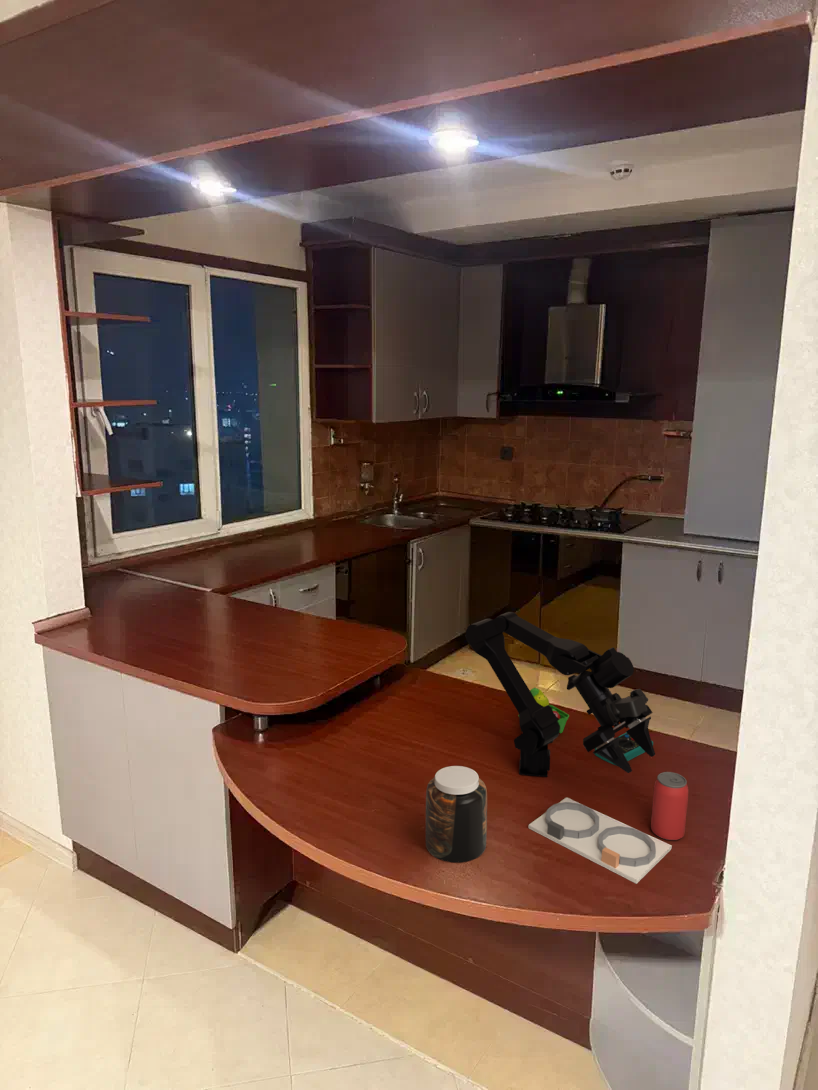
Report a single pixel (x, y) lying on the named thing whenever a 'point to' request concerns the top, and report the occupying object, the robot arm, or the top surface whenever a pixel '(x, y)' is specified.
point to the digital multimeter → (627, 748)
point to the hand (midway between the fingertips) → (642, 763)
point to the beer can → (669, 806)
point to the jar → (456, 815)
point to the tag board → (601, 839)
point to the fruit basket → (544, 702)
